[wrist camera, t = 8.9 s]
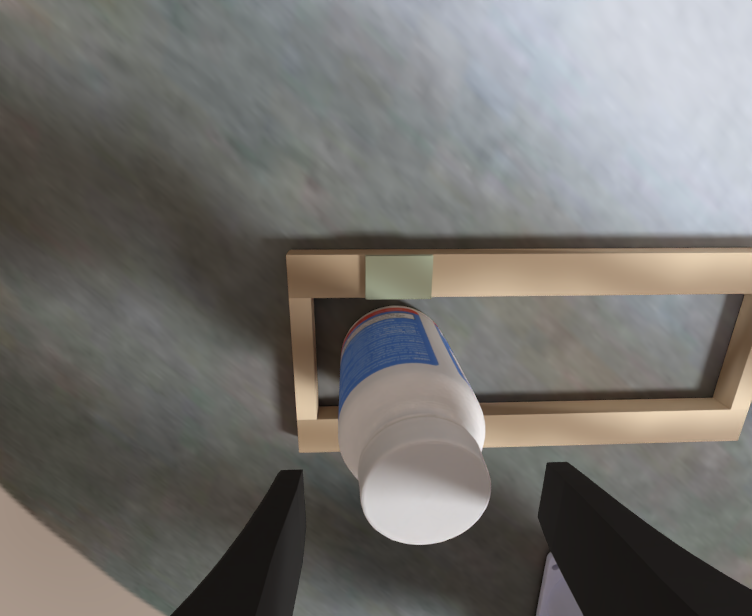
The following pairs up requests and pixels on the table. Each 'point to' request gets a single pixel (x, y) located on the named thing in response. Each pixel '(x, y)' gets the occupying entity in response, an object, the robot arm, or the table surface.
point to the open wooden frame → (534, 278)
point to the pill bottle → (411, 428)
